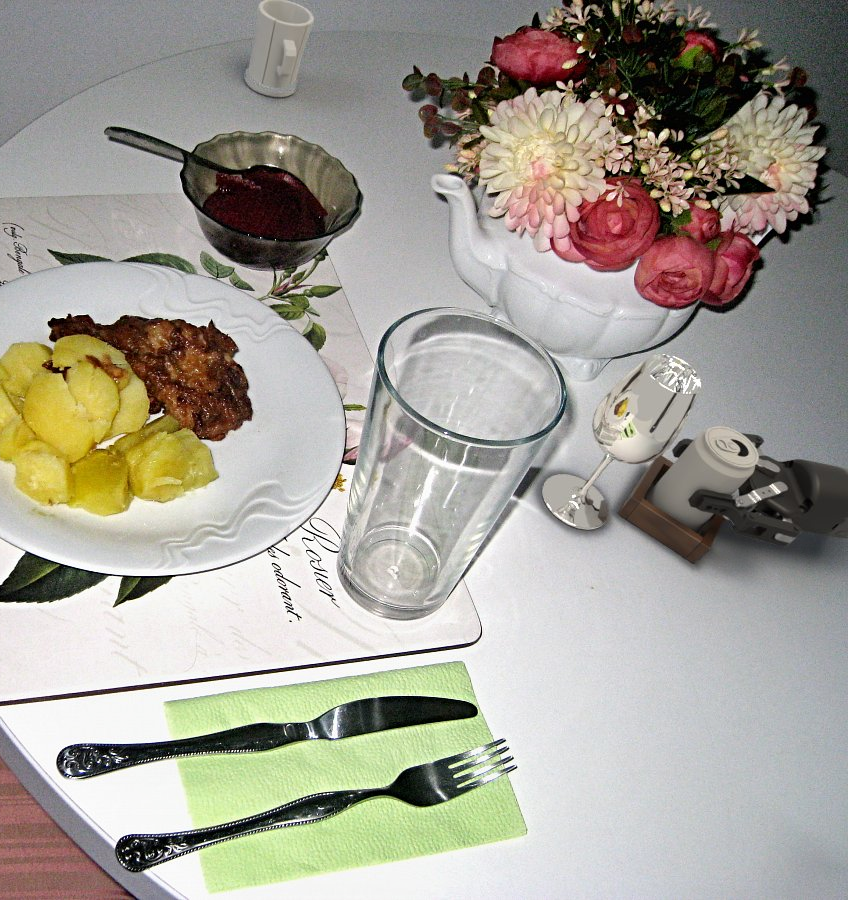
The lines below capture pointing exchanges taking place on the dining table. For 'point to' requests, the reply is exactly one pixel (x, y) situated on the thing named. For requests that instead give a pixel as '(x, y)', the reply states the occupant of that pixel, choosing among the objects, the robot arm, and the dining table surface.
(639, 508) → the frame
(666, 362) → the wineglass
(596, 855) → the dining table surface
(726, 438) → the beverage can
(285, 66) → the cup
